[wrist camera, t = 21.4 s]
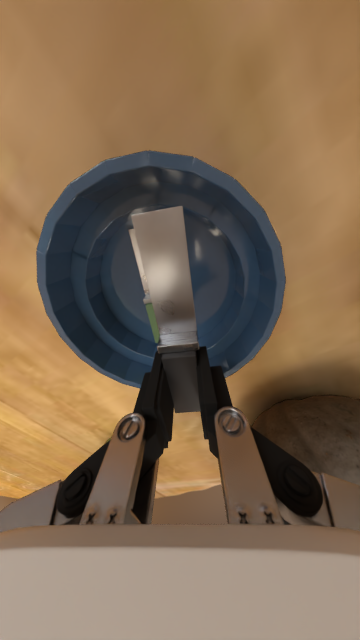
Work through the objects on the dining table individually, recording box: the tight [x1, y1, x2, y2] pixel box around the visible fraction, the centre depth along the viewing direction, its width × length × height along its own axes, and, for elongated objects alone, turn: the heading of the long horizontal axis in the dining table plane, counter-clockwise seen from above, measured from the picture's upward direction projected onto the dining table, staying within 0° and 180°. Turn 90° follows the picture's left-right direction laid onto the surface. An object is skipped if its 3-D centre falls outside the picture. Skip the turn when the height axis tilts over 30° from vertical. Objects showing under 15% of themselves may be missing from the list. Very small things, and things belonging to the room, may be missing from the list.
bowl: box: [36, 150, 286, 388], centre depth 15 cm, size 17×17×6 cm
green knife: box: [129, 229, 160, 343], centre depth 16 cm, size 11×2×2 cm, turn 8°
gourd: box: [251, 395, 360, 525], centre depth 20 cm, size 25×25×17 cm
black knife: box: [131, 206, 200, 413], centre depth 9 cm, size 11×2×2 cm, turn 8°
